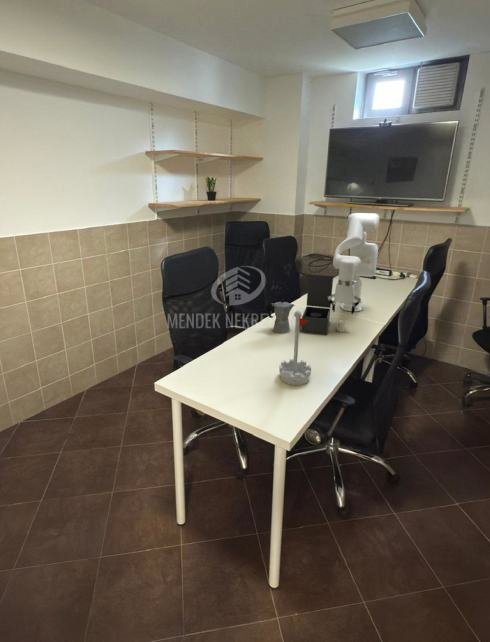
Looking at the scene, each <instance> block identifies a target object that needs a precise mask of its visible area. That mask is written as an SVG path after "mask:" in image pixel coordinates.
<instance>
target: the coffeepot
mask: <svg viewBox="0 0 490 642" xmlns="http://www.w3.org/2000/svg"><path fill="white" fill-rule="evenodd" d="M295 306H296V305H295V304H294V303H289V302H287V301H285V299H284V298H281V299H280V301H278V302H277V301H276V302H275V303H268V304H266V306H265V308H266V309H265V310H266V311H267V314H268V317H269V318H270V319H273V318H274V316H275V318H274V319H275V320H274V323H273V324H274V325H273V332H275V333H279V334H287V333H289V332H290V329H291V326H290V321H289V316H290V312H291V311H292V309H293V308H294V307H295ZM271 308H273V309H274V316H273V315H272V312H271Z"/></svg>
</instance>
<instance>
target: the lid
mask: <svg viewBox="0 0 490 642" xmlns="http://www.w3.org/2000/svg"><path fill="white" fill-rule="evenodd" d="M307 281H308V282H307V294H306V306H309V307H319V308H329V309H332V304H331V303H330V302H329V300H328V296H330V295H333V285H334V275H330V274H329V275H328V274H326V275H325V274H315V273H314V274H312V273H309V274H308V280H307Z"/></svg>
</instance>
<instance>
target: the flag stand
mask: <svg viewBox="0 0 490 642" xmlns="http://www.w3.org/2000/svg"><path fill="white" fill-rule="evenodd" d="M293 316H294V318H295V325H294V326H295V327H294V343H293V344H294V348H293V358H290V359H289V361H286V360H282V361H281V362H280V365H279V370H278V372H279V374H280V375H281V380H282V381H283V382H285V383H286V384H289V385H291V386H301V385H304V384H306V383H307V382H308V381H309V377H311V375H312V366H311V364H307V361H305V360H300V361H298V357H299V355H298V354H299V340H300V339H299V337H300V336H299V335H300V328H301V327H302V325H304V324H305V323H306V322H308V321H307V320H305V319H302V316H303V314H302V311H300V310H296V311H294V313H293Z"/></svg>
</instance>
